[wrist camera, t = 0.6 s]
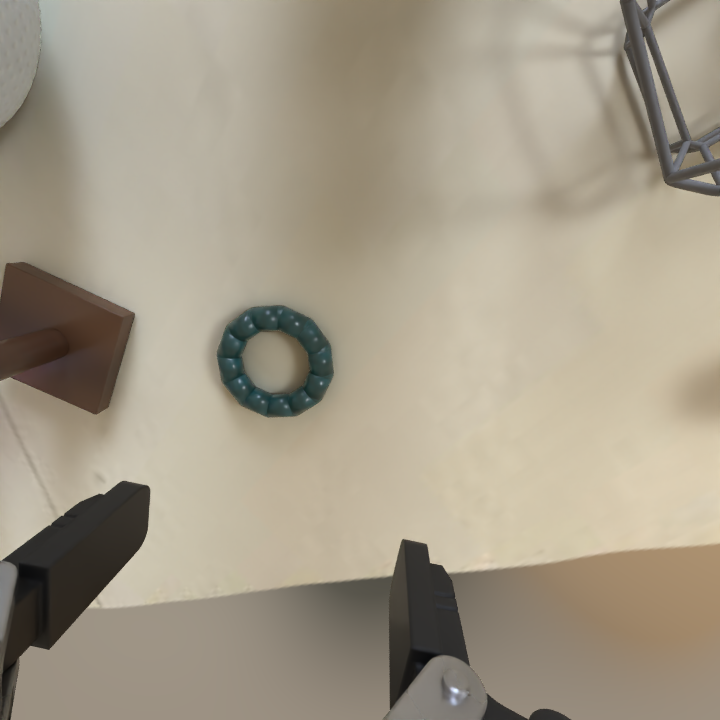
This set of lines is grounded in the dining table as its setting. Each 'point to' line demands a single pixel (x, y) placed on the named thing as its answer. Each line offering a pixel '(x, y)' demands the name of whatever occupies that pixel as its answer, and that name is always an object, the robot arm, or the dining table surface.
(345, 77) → the dining table surface
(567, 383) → the dining table surface
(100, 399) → the holder
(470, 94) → the dining table surface
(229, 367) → the ring
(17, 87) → the cereal bowl
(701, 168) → the geometric lantern
